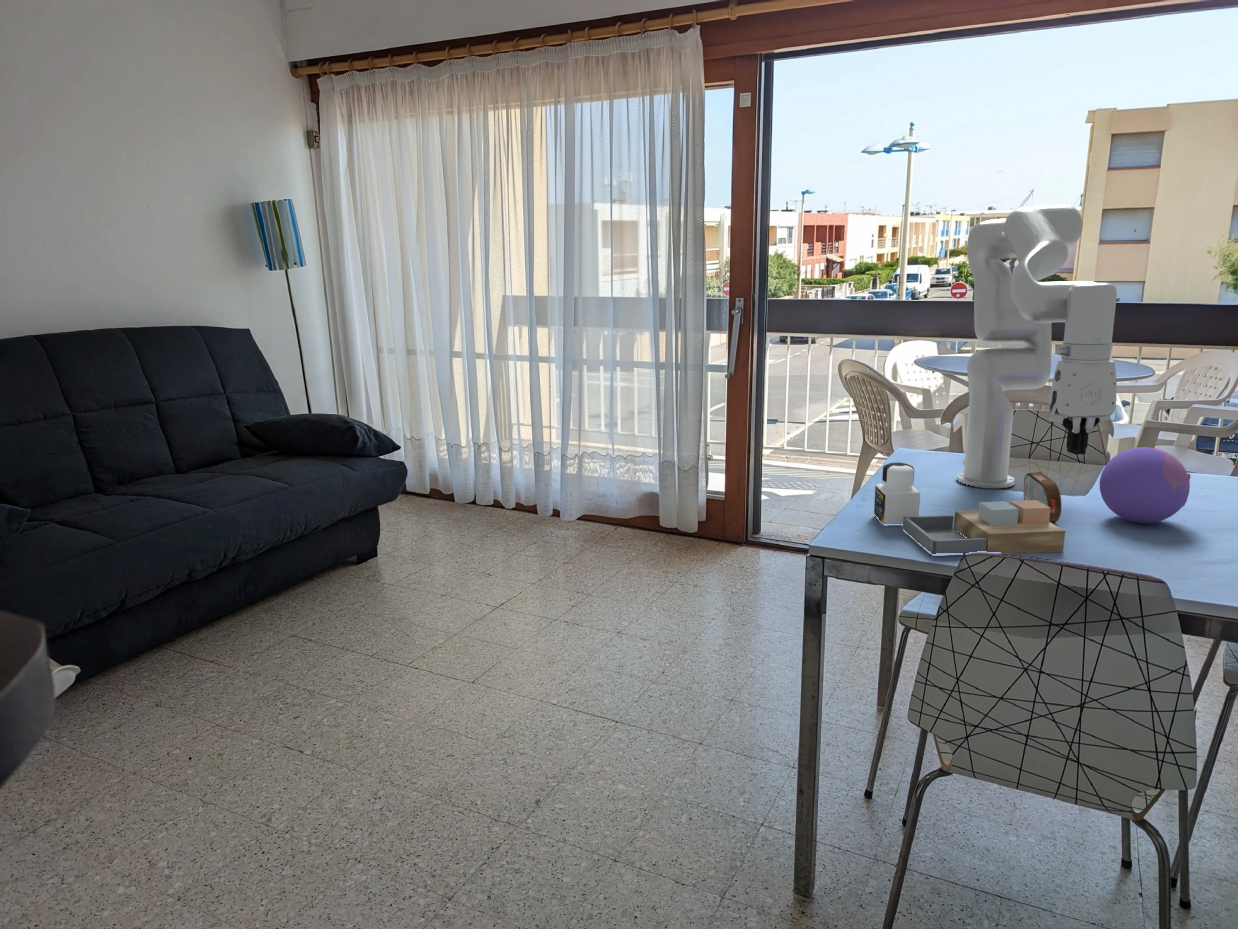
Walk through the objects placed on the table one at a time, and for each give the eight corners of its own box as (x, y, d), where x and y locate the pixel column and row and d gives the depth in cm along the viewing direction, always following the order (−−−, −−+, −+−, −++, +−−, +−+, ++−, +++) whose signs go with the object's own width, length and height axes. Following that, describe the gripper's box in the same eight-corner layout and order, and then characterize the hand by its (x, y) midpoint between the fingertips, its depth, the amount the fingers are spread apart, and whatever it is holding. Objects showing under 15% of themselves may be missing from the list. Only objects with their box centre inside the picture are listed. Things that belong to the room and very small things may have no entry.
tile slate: (978, 517, 156) (979, 502, 155) (1003, 516, 156) (1005, 501, 155) (990, 525, 151) (991, 509, 150) (1017, 524, 151) (1018, 508, 150)
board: (953, 530, 161) (954, 510, 160) (1023, 527, 161) (1025, 508, 160) (986, 554, 147) (988, 533, 146) (1063, 551, 148) (1065, 530, 147)
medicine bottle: (873, 516, 171) (876, 460, 168) (907, 515, 171) (911, 460, 168) (882, 526, 164) (885, 469, 161) (918, 526, 164) (922, 468, 161)
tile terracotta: (1009, 516, 156) (1010, 501, 155) (1034, 515, 156) (1036, 500, 155) (1022, 524, 151) (1023, 508, 150) (1049, 523, 151) (1050, 507, 150)
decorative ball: (1196, 535, 154) (1208, 458, 150) (1107, 530, 158) (1116, 455, 154) (1168, 512, 168) (1178, 441, 164) (1086, 508, 172) (1094, 439, 168)
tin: (1060, 527, 161) (1065, 486, 159) (1044, 527, 161) (1048, 486, 159) (1034, 505, 175) (1038, 467, 173) (1019, 505, 176) (1022, 467, 174)
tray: (902, 531, 161) (903, 516, 160) (950, 529, 161) (952, 514, 161) (932, 557, 147) (933, 541, 146) (985, 554, 147) (986, 539, 147)
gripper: (1056, 356, 142) (1047, 459, 146) (1140, 353, 143) (1128, 456, 147) (1034, 352, 149) (1025, 450, 154) (1113, 350, 150) (1103, 447, 154)
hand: (1076, 452), depth 150 cm, fingers closed
